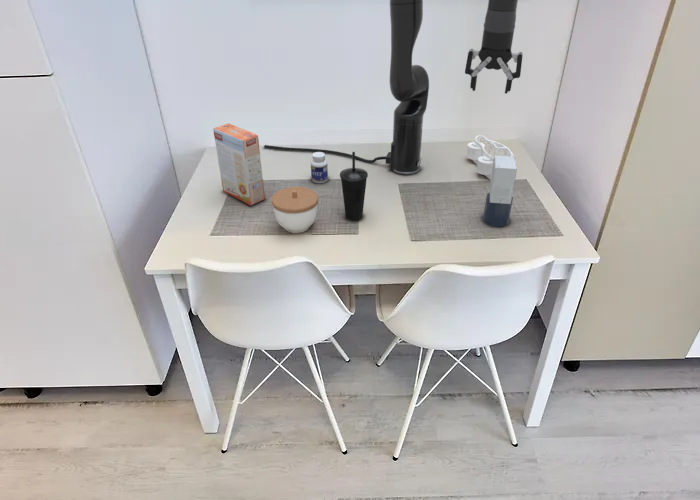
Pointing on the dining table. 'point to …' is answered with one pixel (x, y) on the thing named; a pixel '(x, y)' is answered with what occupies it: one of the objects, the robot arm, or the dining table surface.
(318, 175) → the pill bottle
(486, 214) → the coffee cup
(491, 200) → the small box
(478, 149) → the skeletal toy car
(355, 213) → the drinking cup
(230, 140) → the cracker box
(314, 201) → the lidded bowl
